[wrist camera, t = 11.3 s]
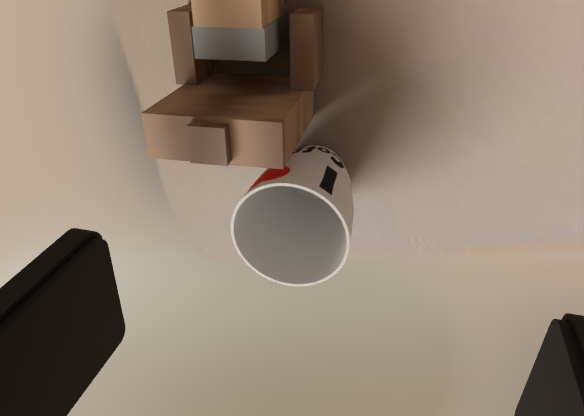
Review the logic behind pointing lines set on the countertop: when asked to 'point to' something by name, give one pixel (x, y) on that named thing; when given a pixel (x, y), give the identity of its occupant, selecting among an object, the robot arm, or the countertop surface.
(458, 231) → the countertop surface
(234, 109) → the wooden footed block
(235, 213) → the cup
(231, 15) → the wooden block
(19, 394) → the robot arm
